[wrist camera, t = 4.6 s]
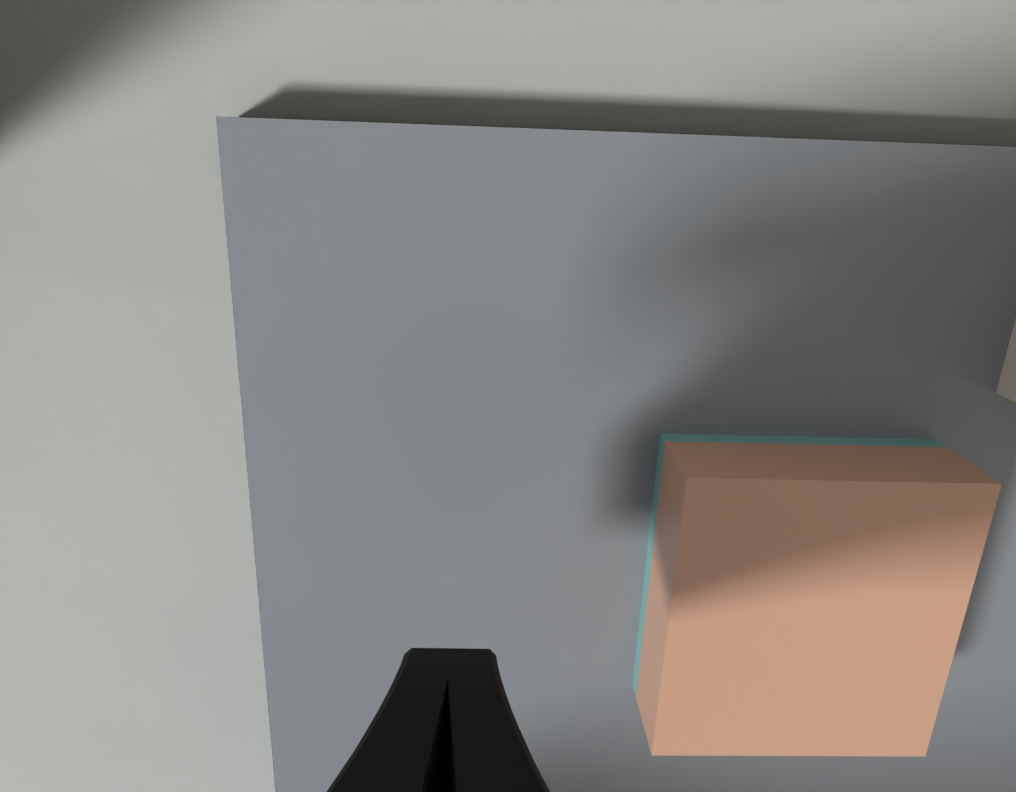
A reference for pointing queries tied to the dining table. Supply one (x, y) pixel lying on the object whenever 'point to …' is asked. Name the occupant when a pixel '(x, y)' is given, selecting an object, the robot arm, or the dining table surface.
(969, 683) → the slate board
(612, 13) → the dining table surface
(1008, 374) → the cream tile
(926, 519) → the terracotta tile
